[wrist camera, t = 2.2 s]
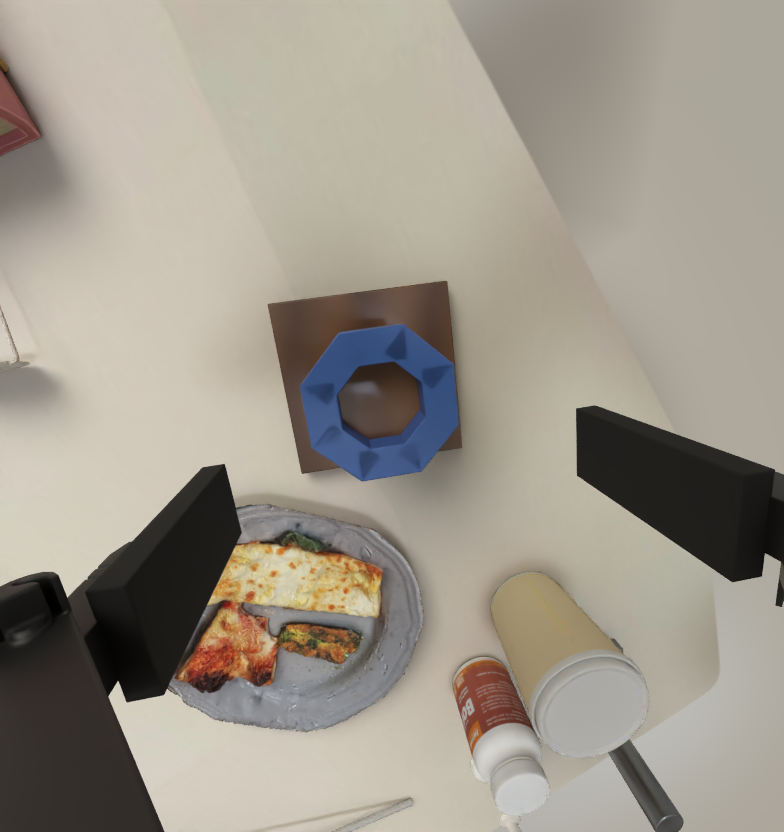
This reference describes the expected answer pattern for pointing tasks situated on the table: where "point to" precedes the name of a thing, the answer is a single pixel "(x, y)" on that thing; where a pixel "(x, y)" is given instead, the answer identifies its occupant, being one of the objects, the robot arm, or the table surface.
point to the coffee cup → (567, 669)
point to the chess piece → (505, 820)
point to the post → (646, 786)
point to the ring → (392, 451)
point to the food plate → (301, 624)
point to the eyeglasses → (16, 363)
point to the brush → (375, 816)
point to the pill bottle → (500, 736)
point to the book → (13, 118)
